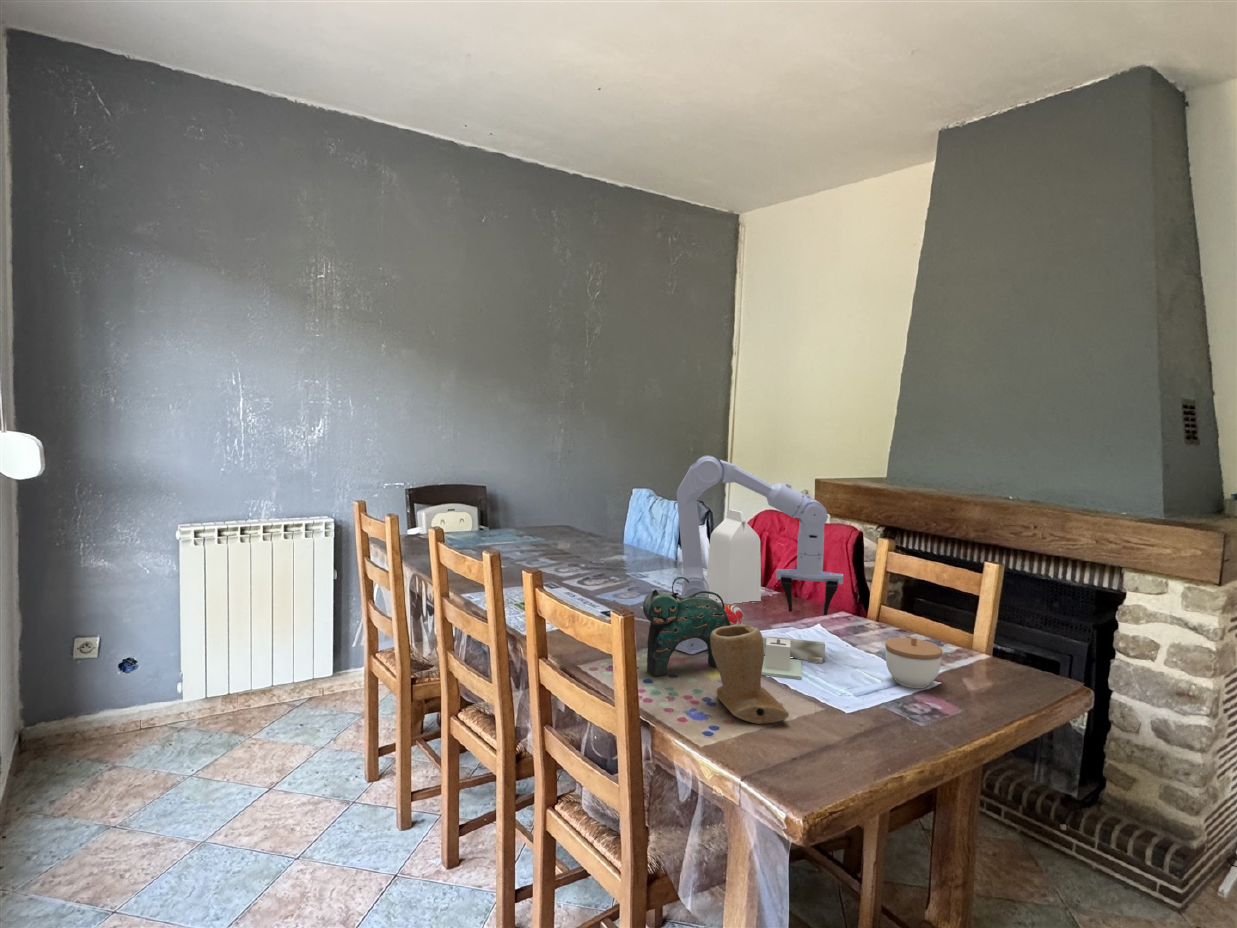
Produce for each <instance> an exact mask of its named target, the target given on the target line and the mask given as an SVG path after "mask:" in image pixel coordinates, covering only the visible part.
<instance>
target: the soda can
mask: <svg viewBox="0 0 1237 928" xmlns="http://www.w3.org/2000/svg"><path fill="white" fill-rule="evenodd" d="M724 607H725V608H724V610H725V612H726V614H727V617H728V620H729V622H730V626H731V625H746V624H745V622H746V619H745V615H744V613H743V611H742V610H741V608H740V607H738V606H737V605H735V604H734V605H726V604H725V605H724Z"/></svg>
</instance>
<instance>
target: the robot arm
mask: <svg viewBox="0 0 1237 928" xmlns="http://www.w3.org/2000/svg"><path fill="white" fill-rule="evenodd" d="M719 460H720V461H719ZM720 481H721V482H722V484H730V483H735V484H737V485H739V486H742V487H744V488H746V489H748V490H750V491H752V492H755V493H757V494H759V495H761V496H763V497H765V498H766V500H767V505H769V506H770V507H772V508H773V509H776V510H778V511H780V512H782V513H783V514H785V515H787V516H790V517H791V518H793V519H795V518H798V520H799V522H798V523H799V525H798V526H799V527H798V532H797V533H798V534H797V548H796V549H797V551H796V553H797V555H796V568H795V569H793V568H792V569H791V568H789V569H788V568H787V569H786V568H784V569H783V568H781V569H780V568H776V573H775V576H776V577H775V579H776V580H780V583H781V587H782V589H783V592H784V594H785V597H786V598H785V599H786V602H787V607H788V612H789V613H792V612H793V598H792V597H793V596H792V595H793V594H792V593H793V580H794V581H795V580H796V581H808V582H818V583H819V582H820V583H825V590H824V591H825V592H824V602H823V616H828V611H829V608H830V605H831V602H832V600H833V597H834V596H835V594H836V592H837V591H838V587H839V585H844V574H843V573H836V572H831V571H830V572H828V571H823V570H824V554H825V553H824V551H825V549H824V548H825V547H824V546H825V533H824V532H825V524H826V523H827V521H828V518H829V515H828V512H827V511H828V510H827V509H826V507H825V506H824V505H823V504H822V503H821V502H820V501H818V500H816V499H815V498H812V496H811V495H810V494H808V493H806V494H804V493H802V492H800V491H798V490H797V489H794V488H792V487H793V486H792V484H790V483H788V482H785V484H784V483H782V482H778V483H776V484H771V483H769V482H768V481H765V480H764V479H762V478H760V477H759V476H757V475H754V473H751V472H749V471H747V470H745V469H744V468H741V467H740V466H738V465H736V464H735V463H731V462H728V461H725V460H723V459H717V458H716V456H712V455H703V456H701V457H700V458H699V457H698V459H697V460H696V461H695V462H694V463H693V464H691V465H690V467H689V468H688V471H687V473H686V474H685V476H684V478H683V479H682V481H681V482H680V485H679V486H678V488H677V489H676V501H677V502H676V503H677V504H676V505H677V514H678V524H679V537H680V538H679V539H680V546H681V547H680V548H681V558H682V559H681V561H682V569H683V571H682V572H683V577H685V578H687V579H688V580H689V583H688V582H687V581H686V580H685V579H683V583H682V585H681V594H680V597H684V596H690V595H692V594H695V593H697V592H700V591H709V586H708V583H707V581H706V579H705V578H706V577H705V576H704V567H703V559H702V557H703V556H702V548H701V547H702V546H701V536H700V535H701V534H700V524H699V523H700V522H699V511H698V501H697V500H698V498H699V497H700V496H701V495H703V493H704V492H705V491H706V490H708V489H709V488H711V487H714V486H715V485H716V484H718V483H719V482H720ZM697 595H698V596H705V597H708V598H710V597H709V594H708V593H700V594H697ZM674 650H676V651H680V652H681V653H682V652H683V653H685V654H688V655H695V654H698V653H700V652H703V651H707V650H708V648H707V644H706V643H705V642H704V641H703V640H701V639H699V638H691V639H688V640H685V641H682V642H680V643H679V644H678V645H677V646H676V648H675V649H674Z"/></svg>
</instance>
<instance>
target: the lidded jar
mask: <svg viewBox="0 0 1237 928" xmlns="http://www.w3.org/2000/svg"><path fill="white" fill-rule="evenodd" d="M942 656H943V649H942V648H941V647H940V646H939V645H937V644H935V643H933V642H930V641H928V640H923V639H918V637H915V636H911V637H893V638H889V639H887V640H886V641H885V662H886V668H887V670H888V672H889V673H890V675H891V676H892V678H893V679H896V680H895V682H896V681H897V682H898V683H899V684H898V683H897V682H896V683H897V684H898V685H900V686H903V687H906V688H911V689H925V688H927V687H928V685H930V684H931V683H932V682H934V681H935V680H936V678H937V677H938V675H939V672H940V670H941V665H942Z"/></svg>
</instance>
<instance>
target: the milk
mask: <svg viewBox="0 0 1237 928" xmlns="http://www.w3.org/2000/svg"><path fill="white" fill-rule="evenodd" d="M761 558H762V557H761V539H760V536H759V535H758V533H757V532H756V531H755V530H754V528H752V527H751V526H750V525H749V524H748V523H747V520H746V516H745V511H740V510H736V509H732V508H731V509H727V513H726V517H725V518H724V519H723V520H722V521H721V522H720V523H719V524H718V525H717V526H716V527H715V528H714V529H713V530H712V532H711V534H710V538H709V550H708V559H707V569H706V579H705V580H706V581H707V583H708V586H709V591H710V592H714V593H717V594H718V595H719V596H720V597H721V598H722V600H723V602H724V603H726V604H733V603H742V602H749V601H761V602H762V600H761V599H762V593H761V592H762V591H761V590H762V589H761V588H762V583H761V582H762V581H761V580H762V579H761V568H762V567H761V563H762V562H761V561H762V560H761ZM709 596H711V597H713V598H715V599H717V600H716V601H718V600H719V601H718V602H720V601H721V600H720V599H719V598H718V597H717V596H716V595H713V594H709ZM711 597H710V598H711ZM713 598H712V599H713ZM715 599H714V600H715ZM726 604H725V605H726Z"/></svg>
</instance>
